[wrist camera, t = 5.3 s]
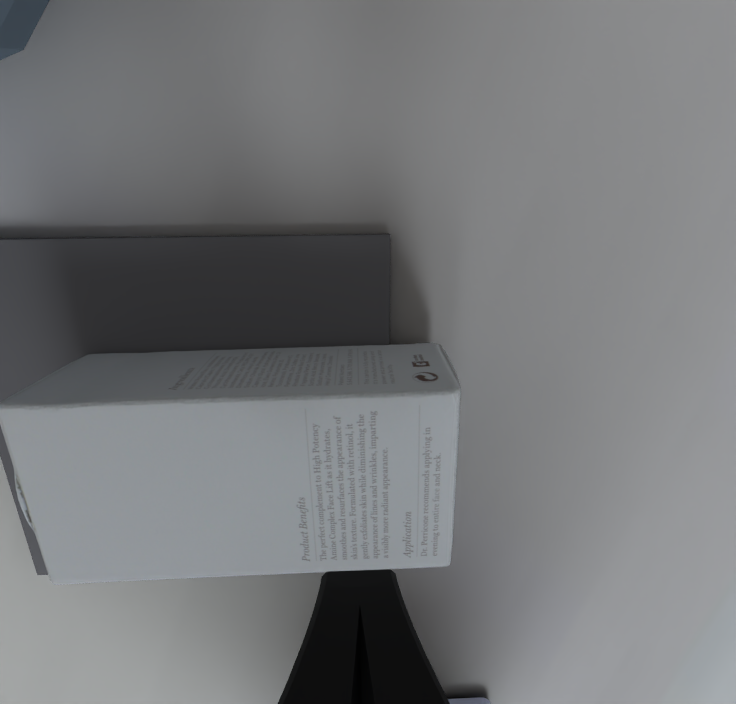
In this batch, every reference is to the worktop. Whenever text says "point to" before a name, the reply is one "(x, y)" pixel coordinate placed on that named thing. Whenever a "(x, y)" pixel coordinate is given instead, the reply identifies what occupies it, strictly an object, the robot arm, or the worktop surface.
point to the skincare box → (238, 462)
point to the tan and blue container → (18, 23)
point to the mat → (182, 301)
